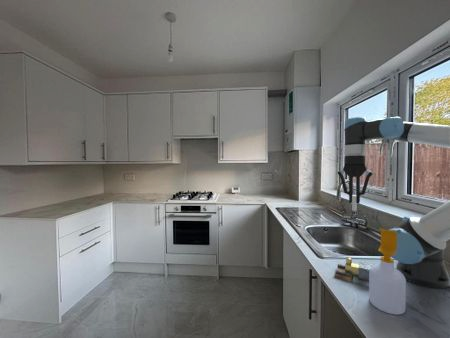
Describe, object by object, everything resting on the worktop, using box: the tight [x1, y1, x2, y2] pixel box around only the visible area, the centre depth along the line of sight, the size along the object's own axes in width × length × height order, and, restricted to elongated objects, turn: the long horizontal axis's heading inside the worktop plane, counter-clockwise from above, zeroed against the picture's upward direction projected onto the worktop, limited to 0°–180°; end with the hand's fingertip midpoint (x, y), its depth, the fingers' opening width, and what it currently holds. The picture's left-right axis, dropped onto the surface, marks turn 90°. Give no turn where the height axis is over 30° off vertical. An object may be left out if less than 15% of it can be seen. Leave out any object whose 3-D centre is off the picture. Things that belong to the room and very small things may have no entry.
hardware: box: [334, 260, 377, 282], centre depth 82 cm, size 13×7×5 cm, turn 54°
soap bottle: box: [368, 227, 407, 316], centre depth 66 cm, size 9×9×25 cm
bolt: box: [345, 256, 359, 276], centre depth 82 cm, size 7×3×5 cm, turn 54°
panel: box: [334, 266, 369, 288], centre depth 82 cm, size 13×9×1 cm
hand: (354, 210), depth 89 cm, fingers closed
